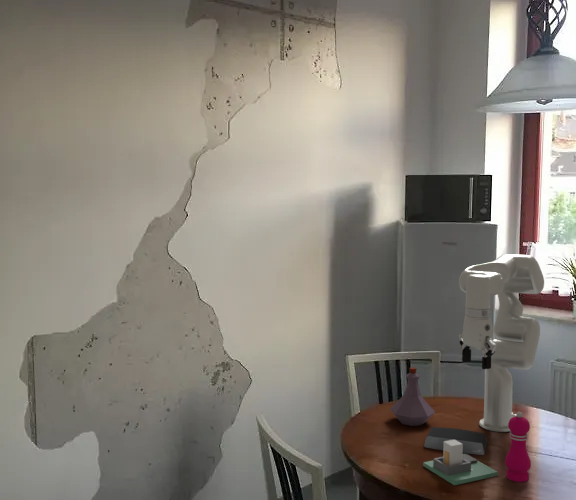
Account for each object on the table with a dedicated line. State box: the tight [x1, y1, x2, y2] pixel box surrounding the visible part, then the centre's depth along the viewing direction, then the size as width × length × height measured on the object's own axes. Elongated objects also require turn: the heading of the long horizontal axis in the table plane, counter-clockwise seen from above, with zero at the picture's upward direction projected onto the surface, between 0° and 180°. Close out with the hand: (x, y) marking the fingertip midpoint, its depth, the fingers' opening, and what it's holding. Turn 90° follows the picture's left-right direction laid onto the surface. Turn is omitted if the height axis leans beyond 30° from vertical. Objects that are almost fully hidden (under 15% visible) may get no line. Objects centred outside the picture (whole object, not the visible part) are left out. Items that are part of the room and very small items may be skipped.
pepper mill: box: [504, 411, 532, 483], centre depth 198 cm, size 7×7×20 cm
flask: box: [389, 366, 436, 427], centre depth 247 cm, size 16×16×20 cm
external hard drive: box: [423, 426, 488, 456], centre depth 225 cm, size 13×19×4 cm
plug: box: [442, 440, 464, 466], centre depth 203 cm, size 4×4×8 cm
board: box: [422, 453, 499, 486], centre depth 204 cm, size 16×15×4 cm
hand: (476, 365), depth 218 cm, fingers open, 9 cm apart
